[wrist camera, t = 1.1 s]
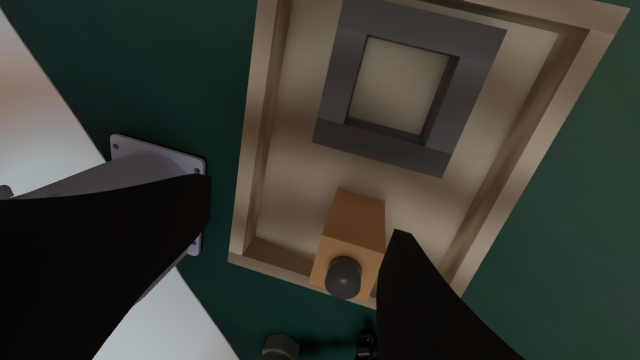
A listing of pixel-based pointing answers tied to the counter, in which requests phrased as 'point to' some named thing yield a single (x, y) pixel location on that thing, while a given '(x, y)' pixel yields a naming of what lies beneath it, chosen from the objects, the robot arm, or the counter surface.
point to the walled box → (404, 120)
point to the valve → (284, 353)
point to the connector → (351, 246)
